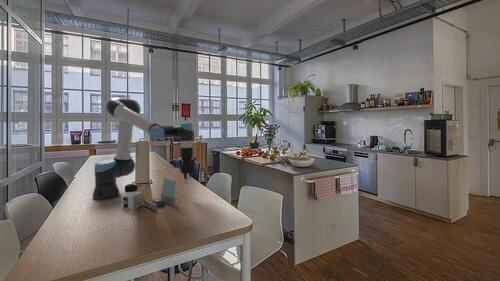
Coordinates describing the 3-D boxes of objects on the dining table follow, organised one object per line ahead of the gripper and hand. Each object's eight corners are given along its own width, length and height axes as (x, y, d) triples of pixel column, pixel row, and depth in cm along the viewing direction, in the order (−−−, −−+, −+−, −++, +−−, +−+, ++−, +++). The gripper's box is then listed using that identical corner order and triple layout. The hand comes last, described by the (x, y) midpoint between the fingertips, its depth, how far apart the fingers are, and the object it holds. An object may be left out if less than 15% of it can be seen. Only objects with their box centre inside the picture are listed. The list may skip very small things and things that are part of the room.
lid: (164, 177, 150) (166, 177, 151) (161, 195, 149) (163, 195, 150) (175, 180, 141) (177, 180, 142) (172, 199, 141) (174, 199, 142)
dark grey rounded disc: (149, 205, 142) (149, 200, 142) (160, 202, 147) (160, 197, 147) (154, 208, 137) (154, 203, 137) (166, 205, 142) (166, 200, 142)
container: (133, 209, 135) (132, 186, 134) (121, 208, 137) (120, 186, 136) (142, 205, 143) (141, 183, 142) (130, 204, 144) (129, 182, 143)
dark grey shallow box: (144, 205, 142) (143, 197, 142) (162, 200, 151) (162, 193, 150) (155, 211, 133) (155, 203, 132) (175, 205, 141) (174, 198, 141)
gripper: (180, 148, 146) (181, 186, 148) (198, 146, 156) (199, 182, 158) (174, 147, 151) (174, 184, 153) (191, 146, 161) (192, 180, 162)
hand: (187, 183), depth 155 cm, fingers closed
